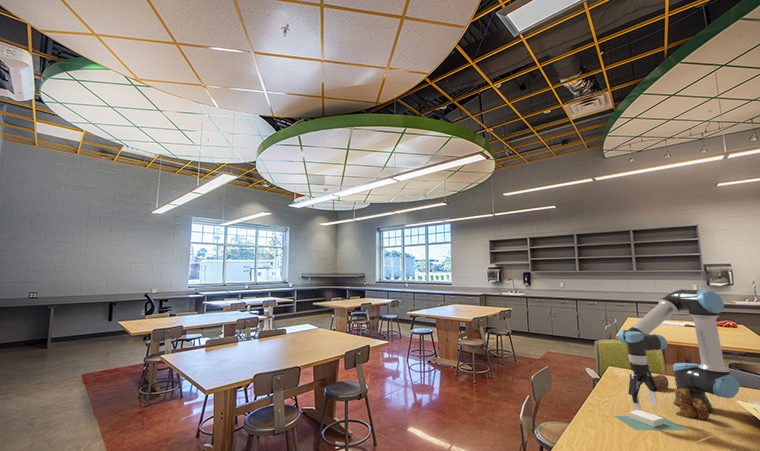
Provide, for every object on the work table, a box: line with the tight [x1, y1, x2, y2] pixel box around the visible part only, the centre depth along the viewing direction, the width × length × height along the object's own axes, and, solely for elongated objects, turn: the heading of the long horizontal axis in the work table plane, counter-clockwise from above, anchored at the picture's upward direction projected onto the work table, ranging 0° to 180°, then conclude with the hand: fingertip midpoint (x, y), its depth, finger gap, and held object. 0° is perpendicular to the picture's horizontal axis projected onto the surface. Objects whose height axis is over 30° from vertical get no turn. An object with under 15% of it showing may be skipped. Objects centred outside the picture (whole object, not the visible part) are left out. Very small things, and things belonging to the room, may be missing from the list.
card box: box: [628, 409, 664, 427], centre depth 160 cm, size 8×3×11 cm
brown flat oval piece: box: [652, 374, 669, 391], centre depth 207 cm, size 15×3×8 cm, turn 105°
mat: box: [613, 415, 688, 431], centre depth 159 cm, size 24×16×1 cm, turn 87°
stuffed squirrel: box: [672, 388, 710, 421], centre depth 167 cm, size 10×14×13 cm
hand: (646, 407), depth 161 cm, fingers open, 13 cm apart
